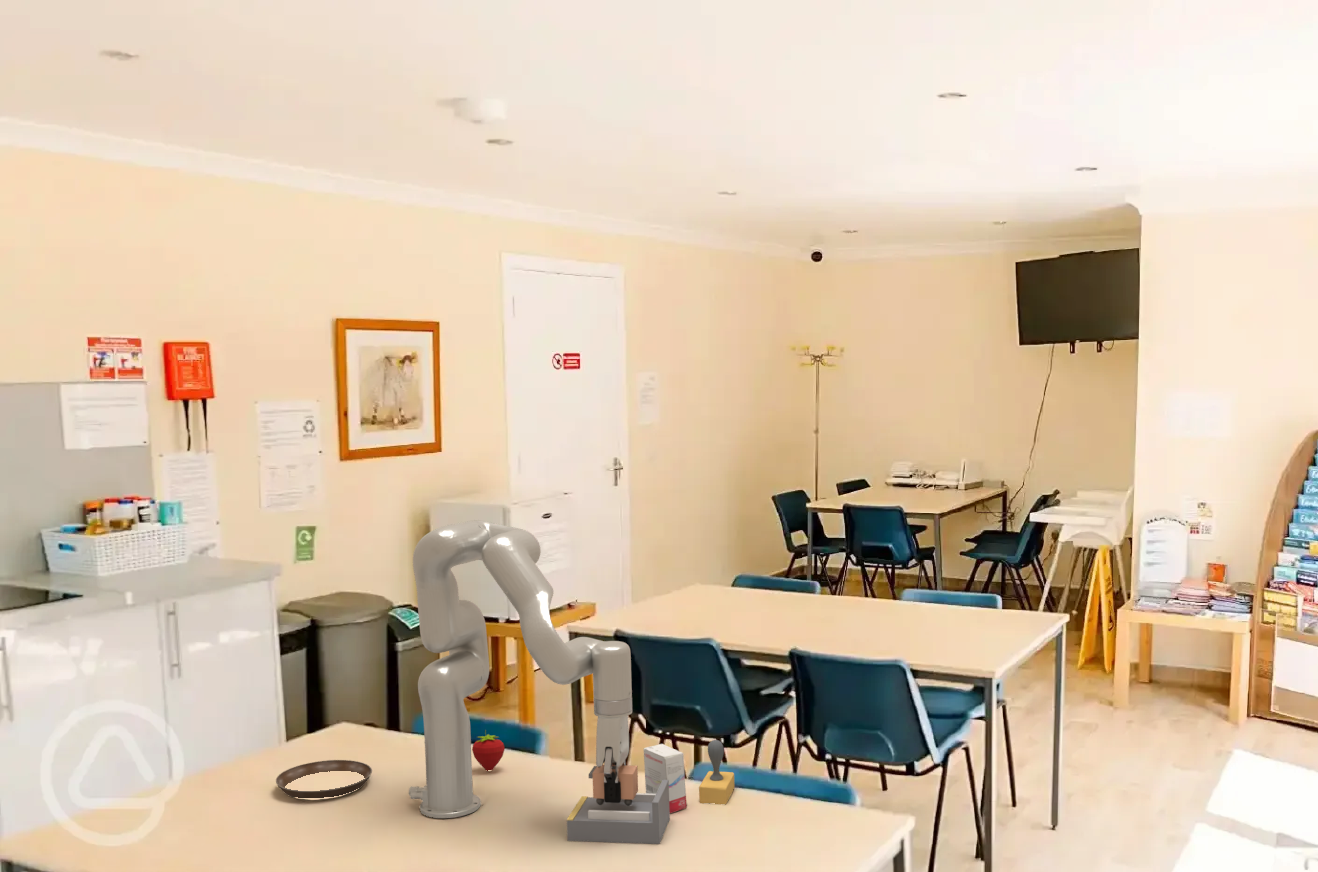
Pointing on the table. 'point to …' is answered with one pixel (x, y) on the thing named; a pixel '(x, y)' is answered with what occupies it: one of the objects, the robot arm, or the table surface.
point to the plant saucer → (323, 767)
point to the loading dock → (621, 819)
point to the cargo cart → (626, 777)
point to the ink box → (666, 774)
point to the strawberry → (488, 751)
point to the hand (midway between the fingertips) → (615, 796)
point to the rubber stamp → (716, 778)
